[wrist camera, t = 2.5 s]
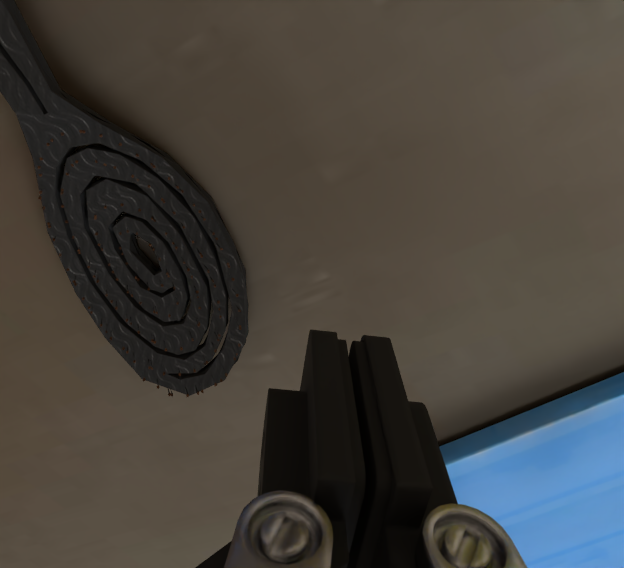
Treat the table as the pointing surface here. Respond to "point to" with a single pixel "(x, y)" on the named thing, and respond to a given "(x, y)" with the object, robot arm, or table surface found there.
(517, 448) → the file sorter
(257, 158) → the table surface
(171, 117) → the table surface
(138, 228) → the hairbrush
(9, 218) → the table surface
